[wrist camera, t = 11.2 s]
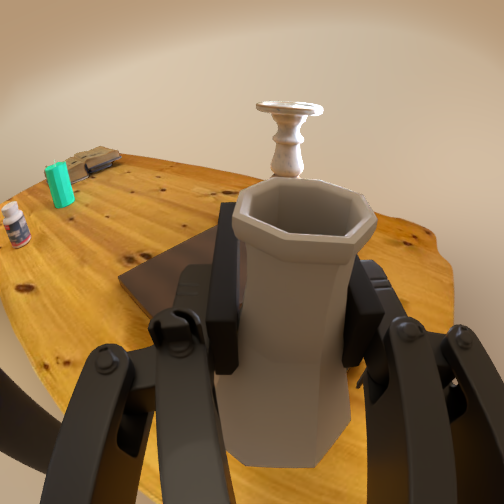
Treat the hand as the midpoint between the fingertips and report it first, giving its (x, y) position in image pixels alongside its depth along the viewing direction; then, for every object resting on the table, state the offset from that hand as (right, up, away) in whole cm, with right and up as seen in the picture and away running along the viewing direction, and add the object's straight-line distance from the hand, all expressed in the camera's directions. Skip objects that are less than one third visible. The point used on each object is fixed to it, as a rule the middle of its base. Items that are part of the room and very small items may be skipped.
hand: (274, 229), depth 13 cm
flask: (0, -8, -1) cm, 8 cm away
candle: (-49, +11, +46) cm, 68 cm away
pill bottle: (-50, +1, +32) cm, 60 cm away
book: (-57, +25, +65) cm, 90 cm away
